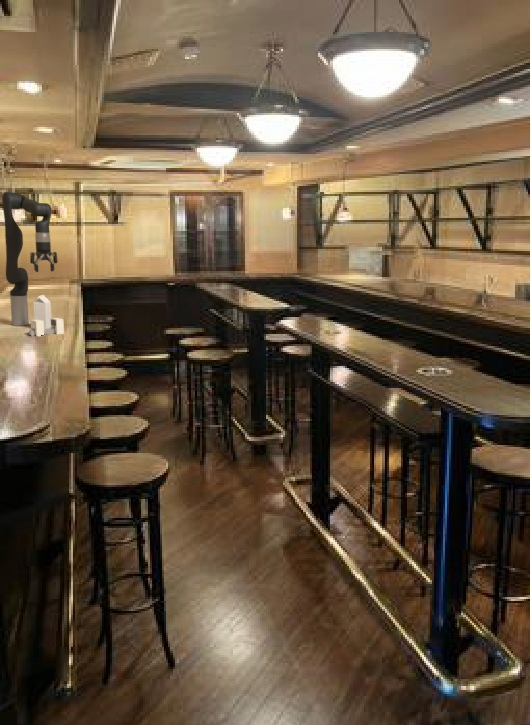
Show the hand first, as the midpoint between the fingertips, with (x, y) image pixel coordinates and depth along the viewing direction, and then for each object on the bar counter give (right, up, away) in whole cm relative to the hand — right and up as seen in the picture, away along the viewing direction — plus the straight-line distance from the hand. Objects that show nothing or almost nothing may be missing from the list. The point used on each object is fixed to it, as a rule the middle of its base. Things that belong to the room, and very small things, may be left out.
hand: (44, 271), depth 337 cm
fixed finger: (+6, -33, +3) cm, 34 cm away
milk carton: (-7, -30, +17) cm, 36 cm away
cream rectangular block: (-2, -35, -5) cm, 35 cm away
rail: (+2, -34, -2) cm, 34 cm away
